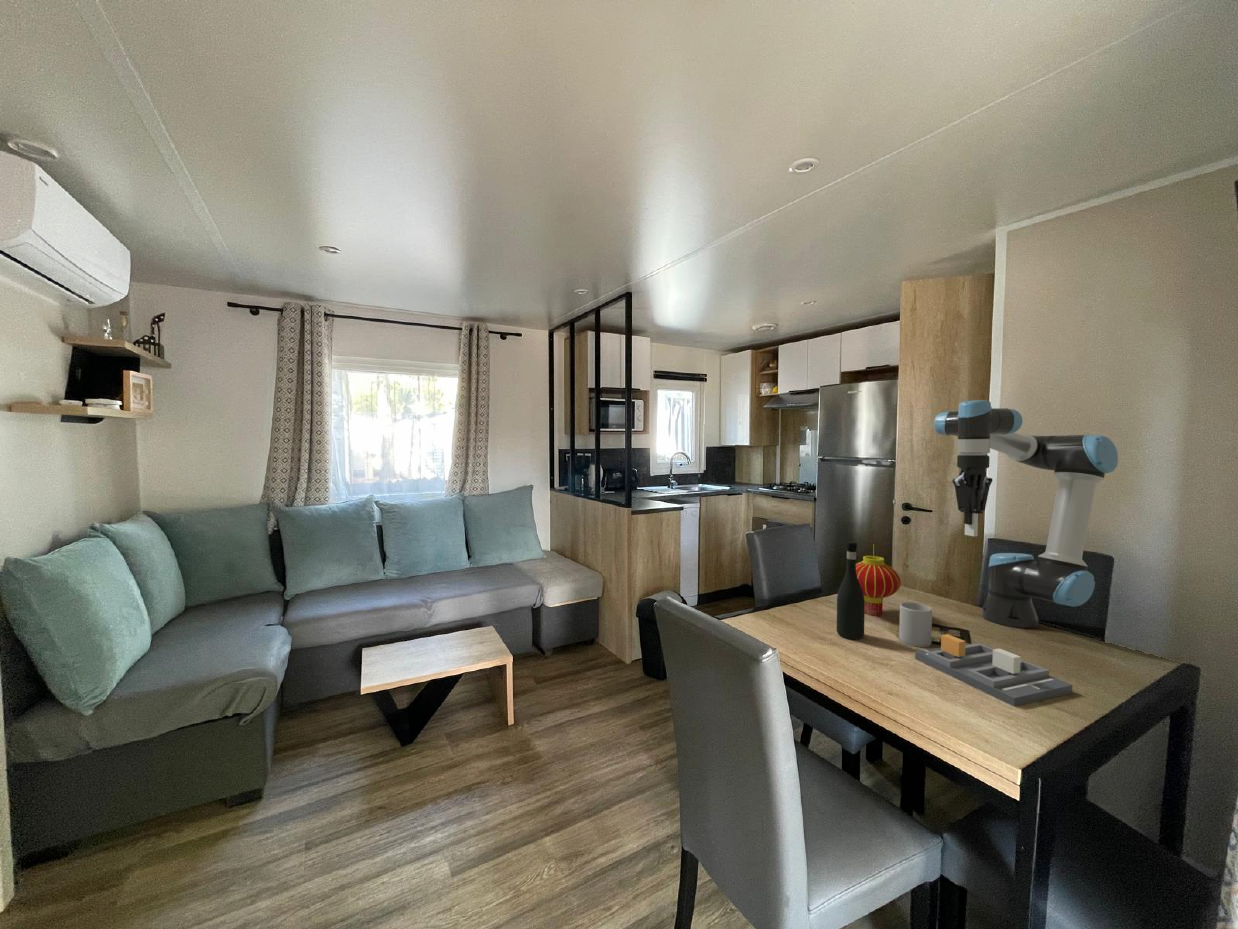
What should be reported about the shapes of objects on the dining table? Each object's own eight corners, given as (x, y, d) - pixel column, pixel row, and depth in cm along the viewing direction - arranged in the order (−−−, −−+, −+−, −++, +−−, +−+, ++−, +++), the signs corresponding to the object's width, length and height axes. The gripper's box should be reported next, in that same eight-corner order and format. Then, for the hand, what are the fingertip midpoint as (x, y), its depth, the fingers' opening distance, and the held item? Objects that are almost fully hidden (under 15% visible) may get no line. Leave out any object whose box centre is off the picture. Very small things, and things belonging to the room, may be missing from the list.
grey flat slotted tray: (966, 649, 142) (967, 637, 142) (1072, 693, 117) (1072, 679, 117) (914, 658, 136) (915, 646, 136) (1014, 706, 111) (1014, 691, 111)
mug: (928, 649, 142) (929, 613, 141) (895, 641, 147) (896, 606, 147) (936, 637, 150) (936, 603, 150) (905, 630, 156) (905, 597, 156)
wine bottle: (842, 628, 158) (843, 538, 157) (867, 635, 152) (869, 542, 151) (832, 635, 152) (833, 542, 151) (858, 642, 147) (860, 546, 146)
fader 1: (948, 654, 133) (948, 634, 133) (965, 662, 129) (966, 641, 128) (940, 656, 133) (940, 635, 132) (957, 663, 128) (958, 642, 127)
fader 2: (999, 670, 124) (1000, 648, 124) (1020, 679, 119) (1021, 656, 119) (991, 671, 123) (992, 649, 123) (1012, 681, 118) (1013, 658, 118)
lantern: (836, 605, 180) (837, 527, 179) (879, 604, 182) (881, 526, 181) (864, 622, 163) (866, 535, 162) (911, 620, 165) (913, 534, 164)
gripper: (976, 453, 143) (974, 531, 144) (943, 454, 140) (941, 534, 141) (1003, 454, 136) (1000, 536, 137) (969, 454, 132) (967, 539, 133)
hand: (970, 535), depth 139 cm, fingers closed
